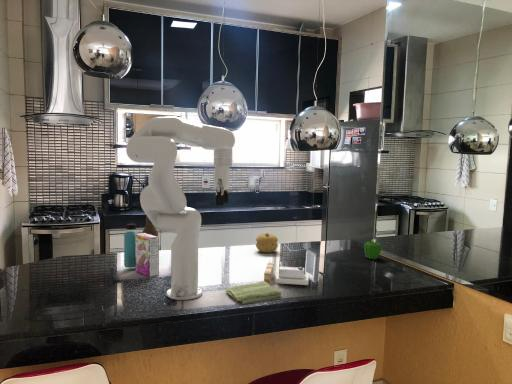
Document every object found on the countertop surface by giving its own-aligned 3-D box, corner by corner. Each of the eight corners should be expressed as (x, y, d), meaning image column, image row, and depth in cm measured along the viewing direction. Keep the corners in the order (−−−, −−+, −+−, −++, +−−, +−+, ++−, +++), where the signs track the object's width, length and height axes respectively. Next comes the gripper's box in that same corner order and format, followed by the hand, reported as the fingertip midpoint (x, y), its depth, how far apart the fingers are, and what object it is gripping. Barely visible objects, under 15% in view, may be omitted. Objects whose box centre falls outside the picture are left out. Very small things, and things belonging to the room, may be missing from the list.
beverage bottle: (134, 271, 171) (134, 225, 169) (120, 270, 172) (120, 224, 171) (142, 267, 177) (142, 223, 176) (128, 266, 179) (128, 222, 177)
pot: (280, 250, 216) (281, 232, 215) (272, 255, 205) (273, 236, 204) (260, 248, 221) (261, 230, 220) (252, 252, 210) (252, 233, 209)
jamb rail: (270, 286, 156) (270, 273, 155) (263, 285, 156) (264, 273, 156) (273, 274, 172) (273, 263, 171) (267, 274, 172) (268, 262, 171)
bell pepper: (366, 255, 209) (367, 236, 209) (382, 258, 205) (383, 238, 204) (360, 258, 203) (361, 239, 202) (377, 261, 198) (377, 241, 197)
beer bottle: (161, 259, 192) (162, 210, 190) (149, 263, 185) (149, 211, 183) (150, 257, 196) (150, 208, 194) (138, 260, 189) (137, 210, 187)
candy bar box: (134, 272, 171) (134, 234, 169) (145, 269, 175) (144, 232, 173) (149, 277, 163) (149, 238, 162) (159, 275, 167) (159, 236, 166)
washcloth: (223, 293, 147) (224, 285, 147) (266, 287, 155) (266, 279, 155) (238, 306, 136) (238, 296, 135) (283, 298, 144) (283, 289, 143)
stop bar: (279, 278, 165) (279, 265, 165) (303, 279, 164) (304, 266, 164) (278, 281, 161) (279, 267, 161) (303, 282, 160) (304, 269, 160)
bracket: (308, 285, 158) (308, 280, 158) (275, 283, 160) (275, 278, 160) (308, 279, 166) (308, 275, 165) (276, 277, 167) (276, 273, 167)
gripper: (218, 162, 174) (217, 201, 176) (208, 162, 157) (208, 205, 158) (235, 162, 173) (234, 201, 175) (227, 162, 156) (227, 206, 158)
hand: (222, 203), depth 167 cm, fingers open, 9 cm apart
